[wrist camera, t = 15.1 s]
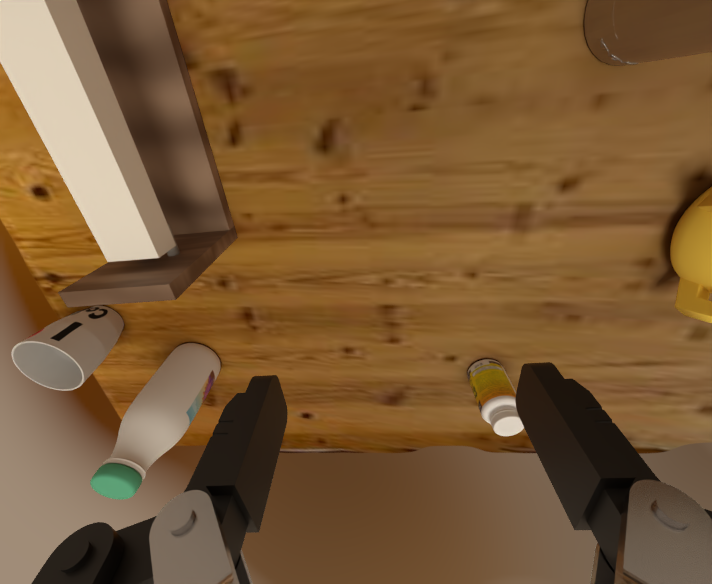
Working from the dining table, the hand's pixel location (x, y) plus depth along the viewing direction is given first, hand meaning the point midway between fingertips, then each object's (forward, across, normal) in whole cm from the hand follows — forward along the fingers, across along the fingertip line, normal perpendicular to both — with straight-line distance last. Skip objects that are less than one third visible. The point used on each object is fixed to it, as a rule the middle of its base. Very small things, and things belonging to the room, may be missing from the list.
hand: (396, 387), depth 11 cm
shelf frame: (+30, +23, -8) cm, 39 cm away
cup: (+30, +41, +15) cm, 53 cm away
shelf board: (+22, +23, -9) cm, 32 cm away
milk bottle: (+30, +30, +24) cm, 49 cm away
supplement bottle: (+30, -15, +30) cm, 45 cm away
